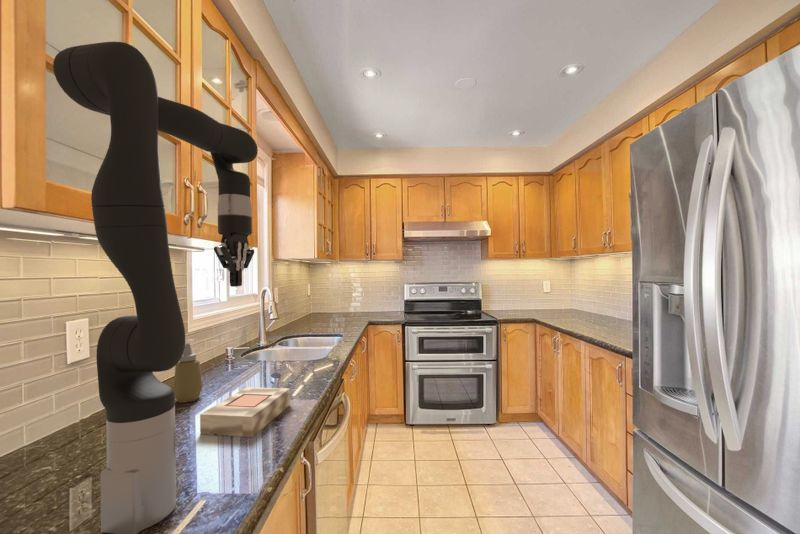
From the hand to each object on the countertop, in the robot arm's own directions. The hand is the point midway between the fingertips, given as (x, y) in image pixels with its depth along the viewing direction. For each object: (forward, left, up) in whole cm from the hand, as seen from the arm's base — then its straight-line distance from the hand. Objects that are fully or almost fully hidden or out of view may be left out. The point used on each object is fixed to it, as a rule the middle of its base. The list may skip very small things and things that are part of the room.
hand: (236, 286), depth 84 cm
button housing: (+11, +4, -37) cm, 39 cm away
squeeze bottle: (+22, +32, -37) cm, 54 cm away
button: (+11, +4, -36) cm, 38 cm away
